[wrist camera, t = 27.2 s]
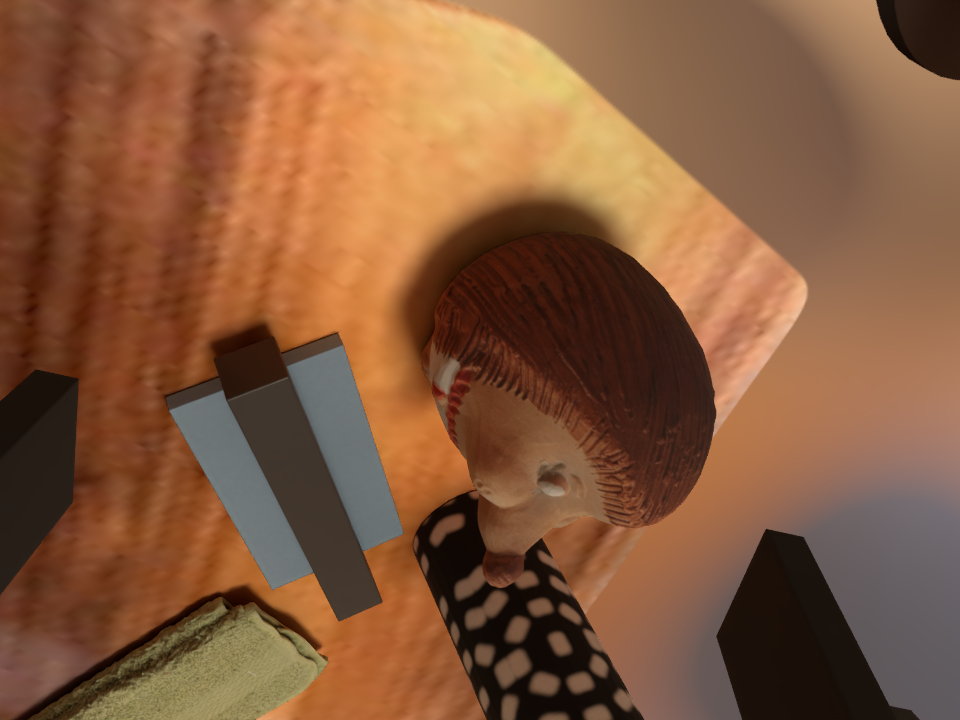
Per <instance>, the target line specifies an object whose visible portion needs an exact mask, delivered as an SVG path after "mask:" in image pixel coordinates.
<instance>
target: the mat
mask: <svg viewBox="0 0 960 720" xmlns="http://www.w3.org/2000/svg"><path fill="white" fill-rule="evenodd" d="M282 357H283V359H284V361H285V364H286V366H287V369H288V371H289V374H290V376H291V378H292V381H293V383H294V386H295V388H296V391H297V393H298V395H299V398H300V400H301V403H302V405H303V408H304V410H305V412H306V415H307V417H308V420H309V422H310V425H311V427H312V429H313V432H314V434H315V437H316V439H317V442H318V444H319V446H320V449H321V451H322V454H323V456H324V458H325V461H326V463H327V466H328V468H329V471H330V473H331V475H332V478H333V480H334V483H335V485H336V488H337V490H338V492H339V495H340V497H341V500H342V502H343V505H344V507H345V509H346V512H347V514H348V517H349V519H350V522H351V524H352V526H353V529H354V531H355V534H356V536H357V539H358V541H359V543H360V546H361V548H362V551H365V550H368V549H370V548H372V547H375V546H377V545H379V544H382V543H384V542H386V541H389V540H391V539H393V538H396V537H398V536H400V535H403V534H404V532H403V529H402V526H401V523H400V520H399V516H398V513H397V510H396V507H395V504H394V501H393V498H392V495H391V492H390V488H389V485H388V482H387V479H386V476H385V473H384V470H383V467H382V464H381V460H380V457H379V454H378V451H377V448H376V445H375V442H374V439H373V436H372V432H371V429H370V426H369V423H368V420H367V417H366V414H365V411H364V408H363V404H362V401H361V398H360V395H359V392H358V389H357V386H356V383H355V380H354V376H353V373H352V370H351V367H350V364H349V361H348V358H347V355H346V352H345V348H344V345H343V343H342V341H341V339H340V337H339V334H338V333H337V334H334V335H332V336H329V337H326V338H324V339H321V340H318V341H316V342H313V343H310V344H307V345H305V346H302V347H299V348H297V349H294V350H291V351H289V352H286V353H283V354H282ZM166 401H167V405H168V410H169V412H170V414H171V415H172V417H173V419H174V421H175V422H176V424H177V426H178V428H179V429H180V431H181V433H182V435H183V436H184V438H185V440H186V441H187V443H188V445H189V447H190V448H191V450H192V452H193V454H194V455H195V457H196V459H197V460H198V462H199V464H200V466H201V467H202V469H203V471H204V473H205V474H206V476H207V478H208V480H209V481H210V483H211V485H212V486H213V488H214V490H215V492H216V493H217V495H218V497H219V499H220V500H221V502H222V504H223V506H224V507H225V509H226V511H227V512H228V514H229V516H230V518H231V519H232V521H233V523H234V525H235V526H236V528H237V530H238V531H239V533H240V535H241V537H242V538H243V540H244V542H245V544H246V545H247V547H248V549H249V551H250V552H251V554H252V556H253V557H254V559H255V561H256V563H257V564H258V566H259V568H260V570H261V571H262V573H263V575H264V577H265V578H266V580H267V582H268V583H269V585H270V587H271V589H272V590H274V589H276V588H278V587H281V586H283V585H285V584H288V583H290V582H292V581H295V580H297V579H299V578H302V577H304V576H307V575H309V574H311V573H314V572H313V570H312V568H311V566H310V564H309V562H308V560H307V558H306V556H305V554H304V552H303V550H302V548H301V546H300V544H299V542H298V540H297V539H296V537H295V535H294V533H293V531H292V529H291V527H290V525H289V523H288V521H287V519H286V517H285V515H284V513H283V511H282V509H281V507H280V505H279V503H278V501H277V499H276V497H275V495H274V493H273V491H272V489H271V487H270V485H269V483H268V482H267V480H266V478H265V476H264V474H263V472H262V470H261V468H260V466H259V464H258V462H257V460H256V458H255V456H254V454H253V452H252V450H251V448H250V446H249V444H248V442H247V440H246V438H245V436H244V434H243V432H242V430H241V428H240V426H239V425H238V423H237V421H236V419H235V417H234V415H233V413H232V411H231V409H230V407H229V405H228V403H227V401H226V398H225V395H224V391H223V388H222V385H221V381H220V378H216V379H213V380H211V381H208V382H205V383H203V384H200V385H197V386H195V387H192V388H189V389H187V390H184V391H181V392H178V393H176V394H173V395H170V396H168V397H166Z"/></svg>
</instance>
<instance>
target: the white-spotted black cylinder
mask: <svg viewBox="0 0 960 720" xmlns="http://www.w3.org/2000/svg"><path fill="white" fill-rule="evenodd" d="M478 502H479V492H478V490H477V491H473V492H469V493H467V494H464V495H462V496H459V497H457V498H455V499H453V500H451V501H450V502H448V503H446V504H445V505H443V506H442V507H440V508H439V509H437V510H436V511H435V512H434V513H433V514H432V515H430V516H429V517H428V518H427V519H426V521H425V522H424V523H423V524H422V525H421V527H420V529H419V530H418V532H417V534H416V536H415V539H414V545H413V549H414V553H415V556H416V558H417V560H418V563H419V565H420V567H421V570H422V572H423V574H424V576H425V579H426V581H427V583H428V586H429V588H430V590H431V593H432V595H433V597H434V599H435V602H436V604H437V606H438V609H439V611H440V613H441V616H442V618H443V620H444V622H445V625H446V627H447V629H448V632H449V634H450V636H451V639H452V641H453V643H454V645H455V648H456V650H457V652H458V655H459V657H460V659H461V661H462V664H463V666H464V668H465V671H466V673H467V675H468V678H469V680H470V682H471V684H472V687H473V689H474V691H475V694H476V696H477V698H478V701H479V703H480V705H481V707H482V710H483V712H484V714H485V717H486V719H487V720H644V719H643V717H642V715H641V713H640V712H639V710H638V708H637V706H636V704H635V703H634V701H633V699H632V697H631V696H630V694H629V692H628V691H627V688H626V687H625V685H624V683H623V681H622V680H621V678H620V676H619V674H618V672H617V671H616V669H615V667H614V666H613V664H612V662H611V660H610V658H609V657H608V655H607V653H606V651H605V649H604V648H603V646H602V644H601V642H600V641H599V639H598V637H597V635H596V633H595V632H594V630H593V628H592V626H591V625H590V623H589V621H588V619H587V617H586V616H585V614H584V612H583V610H582V609H581V607H580V605H579V603H578V601H577V600H576V598H575V596H574V594H573V593H572V591H571V589H570V587H569V586H568V584H567V582H566V580H565V578H564V577H563V575H562V573H561V571H560V570H559V568H558V566H557V564H556V562H555V561H554V559H553V557H552V555H551V554H550V552H549V550H548V548H547V546H546V545H545V543H544V541H543V539H542V538H540V539H539V540H538V541H537V542H536V543H535V544H534V545H532V546H531V547H530V548H529V549H528V550H527V551H526V552H525V554H524V570H523V573H522V575H521V576H520V577H519V578H518V579H517V580H516V581H515V582H513V583H512V584H510V585H508V586H507V587H502V588H498V587H495V586H492V585H490V584H489V583H488V582H487V580H486V579H485V577H484V575H483V569H482V566H483V559H484V556H485V553H486V550H487V549H486V546H485V544H484V541H483V538H482V535H481V532H480V529H479V524H478Z"/></svg>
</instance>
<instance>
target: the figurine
mask: <svg viewBox="0 0 960 720" xmlns="http://www.w3.org/2000/svg"><path fill="white" fill-rule="evenodd" d="M434 317H435V323H436V325H435V330H434V333H433V335H432V337H431V338H430V340H429V342H428V343H427V345H426V347H425V349H424V350H423V352H422V357H421V364H422V370H423V373H424V375H425V377H426V378H427V379H428V380H429V381H430V382H431V388H432V394H433V396H434V398H435V401H436V405H437V408H438V410H439V413H440V416H441V418H442V421H443V423H444V425H445V427H446V430H447V432H448V434H449V436H450V439H451V440H452V442H453V443H454V444H455V446H456V447H457V448H458V449H459V450H460V452H461V453H462V455H463V456H464V457H465V459H466V460H467V464H468V469H469V474H470V477H471V479H472V482H473V484H474V487H475V488H476V489H477V490H478V492H479V502H478V524H479V529H480V532H481V535H482V538H483V541H484V544H485V546H486V549H487V550H486V553H485V556H484V559H483V566H482V569H483V575H484V577H485V579H486V580H487V582H488V583H489V584H490V585H492V586H495V587H498V588H502V587H507V586H508V585H510V584H512V583H513V582H515V581H516V580H517V579H518V578H519V577H520V576H521V575H522V573H523V570H524V554H525V552H526V551H527V550H528V549H529V548H530V547H531V546H532V545H534V544H535V543H536V542H537V541H538V540H539V539H540V538H541V537H543V536H544V535H545V534H546V533H547V532H548V531H549V530H550V529H552V528H553V527H556V528H558V527H564V526H567V525H569V524H571V523H573V522H575V521H576V520H577V519H578V518H579V517H581V516H589V517H593V518H595V519H598V520H600V521H603V522H606V523H609V524H612V525H616V526H621V527H625V528H640V527H643V526H649V525H652V524H655V523H657V522H659V521H661V520H662V519H664V518H665V517H667V516H668V515H669V514H671V513H672V512H674V511H675V510H676V508H677V507H678V506H679V505H681V503H683V501H684V500H685V499H686V498H687V496H688V495H689V493H690V492H691V490H692V489H693V487H694V486H695V484H696V482H697V480H698V478H699V477H700V475H701V472H702V469H703V466H704V463H705V461H706V458H707V456H708V453H709V449H710V445H711V441H712V436H713V431H714V423H715V419H716V408H715V404H714V396H715V391H714V389H713V386H712V381H711V376H710V371H709V368H708V365H707V361H706V358H705V355H704V352H703V349H702V347H701V346H700V344H699V342H698V340H697V338H696V337H695V335H694V333H693V331H692V330H691V328H690V326H689V324H688V323H687V321H686V319H685V317H684V315H683V313H682V312H681V310H680V308H679V307H678V306H677V305H676V303H675V302H674V301H673V299H672V298H671V297H670V295H669V294H668V292H667V291H666V289H665V288H664V287H663V286H662V285H661V284H660V283H659V282H658V281H657V280H656V279H655V278H654V277H653V276H652V275H651V274H650V273H649V272H648V271H647V270H645V269H644V268H643V267H642V266H641V265H640V264H639V263H638V262H637V261H636V260H635V259H634V258H633V257H631V256H630V255H628V254H626V253H624V252H623V251H621V250H619V249H618V248H616V247H614V246H613V245H611V244H609V243H607V242H605V241H603V240H602V239H599V238H596V237H592V236H587V235H583V234H576V233H566V232H545V233H541V234H536V235H531V236H526V237H522V238H519V239H516V240H514V241H511V242H508V243H506V244H503V245H501V246H498V247H496V248H494V249H492V250H490V251H488V252H486V253H484V254H482V255H481V256H480V257H478V258H477V259H476V260H474V261H473V262H472V263H471V264H470V265H469V266H468V267H467V268H465V269H464V270H462V271H461V272H460V273H459V274H458V275H457V276H456V277H455V278H454V279H453V281H452V282H451V283H450V285H449V286H448V287H447V289H446V290H445V291H444V292H443V294H442V296H441V298H440V300H439V302H438V304H437V306H436V309H435V311H434Z"/></svg>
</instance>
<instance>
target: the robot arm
mask: <svg viewBox="0 0 960 720" xmlns="http://www.w3.org/2000/svg"><path fill="white" fill-rule="evenodd" d="M78 382H79V379H77V378H73V377H68V376H64V375H59V374H55V373H50V372H45V371H41V370H35V371H34V372H32V373H31V374H30V375H29V376H28V377H27V378H26V379H25V380H24V381H22V382H21V383H20V384H19V385H18V386H17V387H16V388H15V389H14V390H12V391H11V392H10V393H9V394H8V395H7V396H6V397H5V398H4V399H2V400H1V401H0V595H1V593H2V592H3V591H4V590H5V588H6V587H7V586H8V585H9V583H10V582H11V581H12V579H13V578H14V577H15V576H16V574H17V573H18V572H19V570H20V569H21V568H22V567H23V565H24V564H25V563H26V561H27V560H28V559H29V558H30V556H31V555H32V554H33V552H34V551H35V550H36V549H37V547H38V546H39V545H40V543H41V542H42V541H43V540H44V538H45V537H46V536H47V534H48V533H49V532H50V531H51V529H52V528H53V527H54V526H55V524H56V523H57V522H58V520H59V519H60V518H61V517H62V515H63V514H64V513H65V511H66V510H67V509H68V508H69V506H70V505H71V504H72V502H73V482H74V462H75V442H76V422H77V402H78ZM717 639H718V643H719V646H720V649H721V653H722V656H723V659H724V662H725V665H726V668H727V672H728V675H729V678H730V682H731V684H732V688H733V691H734V694H735V698H736V701H737V704H738V708H739V711H740V714H741V717H742V720H919V719H918V717H916V715H915V714H914V713H913V712H912V711H911V710H907V709H902V708H897V707H892V706H889V704H888V702H887V700H886V699H885V696H884V694H883V692H882V690H881V689H880V686H879V684H878V683H877V681H876V679H875V677H874V675H873V673H872V671H871V669H870V667H869V665H868V663H867V661H866V659H865V657H864V655H863V653H862V651H861V649H860V647H859V645H858V644H857V641H856V639H855V637H854V636H853V633H852V631H851V629H850V628H849V626H848V624H847V622H846V620H845V618H844V616H843V614H842V612H841V610H840V608H839V606H838V604H837V602H836V600H835V598H834V596H833V594H832V592H831V590H830V588H829V586H828V584H827V583H826V580H825V578H824V576H823V574H822V572H821V571H820V569H819V567H818V565H817V563H816V561H815V559H814V557H813V555H812V553H811V551H810V549H809V547H808V545H807V543H806V541H805V539H804V537H801V536H796V535H792V534H787V533H782V532H778V531H773V530H768V529H766V530H765V532H764V534H763V536H762V539H761V541H760V543H759V545H758V547H757V549H756V552H755V554H754V556H753V558H752V560H751V562H750V564H749V567H748V569H747V571H746V573H745V575H744V577H743V580H742V582H741V584H740V587H739V588H738V591H737V593H736V595H735V597H734V599H733V601H732V603H731V606H730V608H729V610H728V612H727V614H726V616H725V619H724V621H723V623H722V625H721V627H720V629H719V632H718V634H717Z"/></svg>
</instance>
